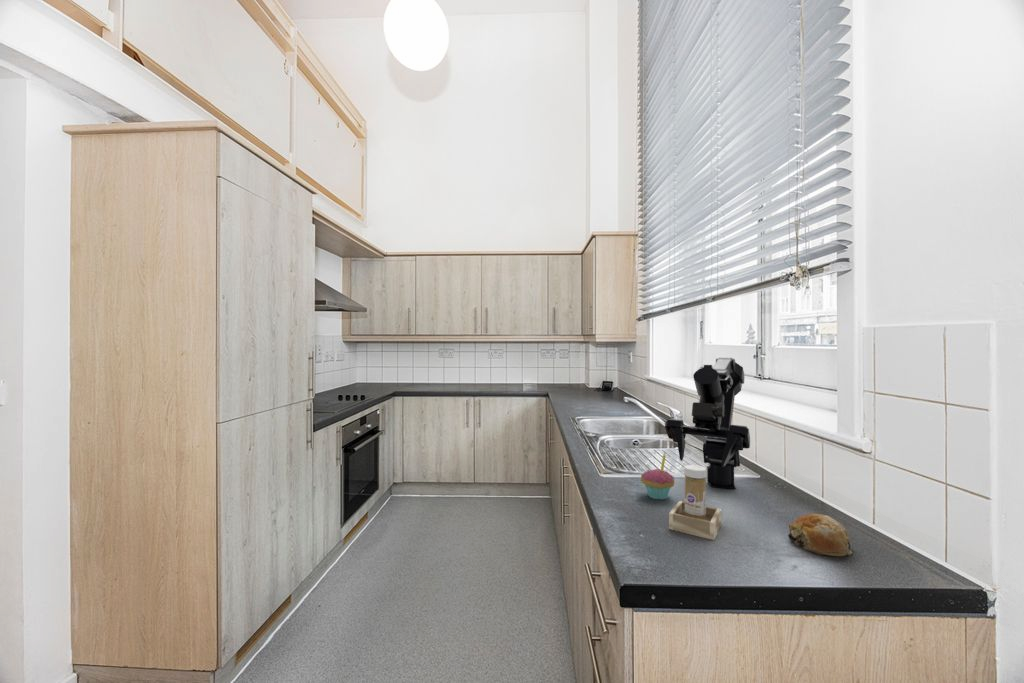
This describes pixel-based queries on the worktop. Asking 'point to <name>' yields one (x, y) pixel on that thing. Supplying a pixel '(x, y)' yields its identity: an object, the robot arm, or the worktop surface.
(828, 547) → the bread roll
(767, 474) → the worktop surface
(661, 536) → the worktop surface
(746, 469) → the worktop surface
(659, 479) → the cupcake
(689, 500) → the sprinkles bottle
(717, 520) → the box
